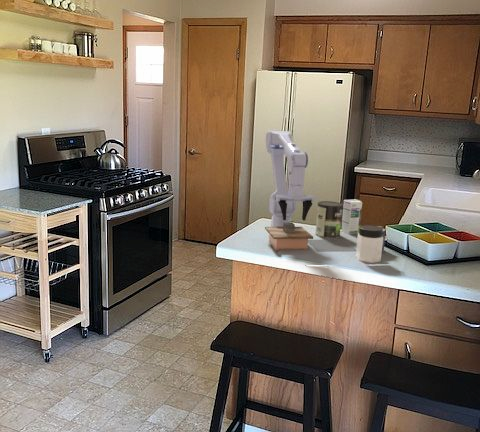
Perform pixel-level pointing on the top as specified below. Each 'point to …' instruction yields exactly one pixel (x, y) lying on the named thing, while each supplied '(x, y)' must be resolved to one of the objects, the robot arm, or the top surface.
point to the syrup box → (351, 216)
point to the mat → (330, 245)
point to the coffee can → (329, 219)
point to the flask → (383, 237)
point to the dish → (288, 243)
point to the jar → (369, 243)
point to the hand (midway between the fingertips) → (294, 219)
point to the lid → (288, 232)
